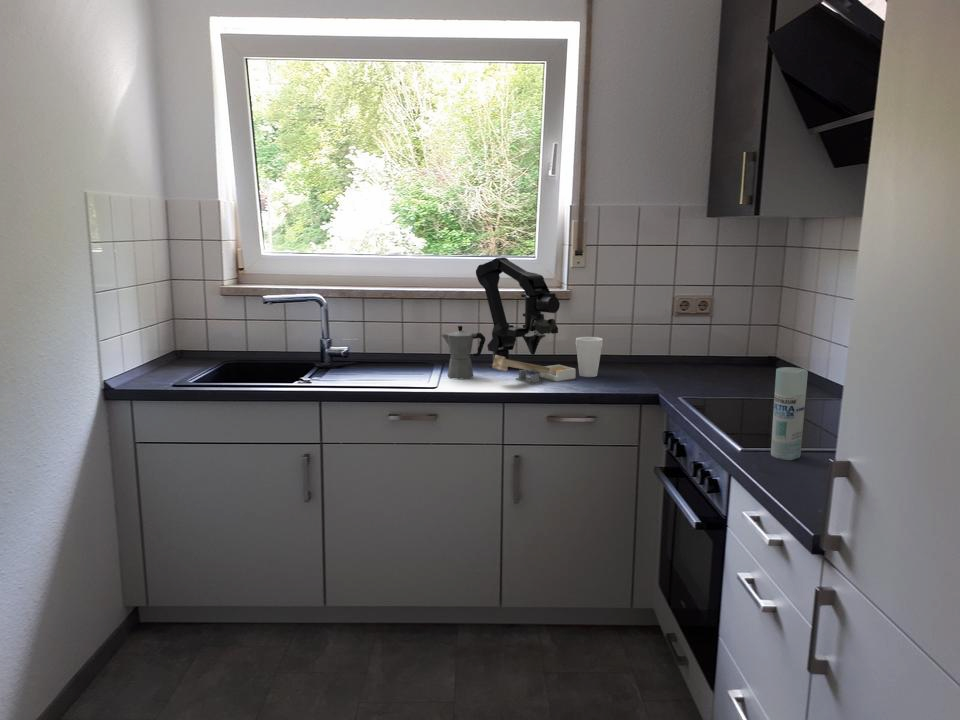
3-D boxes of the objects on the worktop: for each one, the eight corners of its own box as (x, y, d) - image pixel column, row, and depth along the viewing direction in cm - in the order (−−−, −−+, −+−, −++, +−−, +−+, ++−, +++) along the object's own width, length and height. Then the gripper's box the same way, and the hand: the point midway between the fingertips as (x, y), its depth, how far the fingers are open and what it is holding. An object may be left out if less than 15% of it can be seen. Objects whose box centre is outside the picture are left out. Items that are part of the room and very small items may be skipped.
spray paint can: (764, 454, 166) (770, 369, 162) (780, 449, 170) (787, 366, 166) (790, 462, 161) (797, 373, 157) (806, 457, 164) (813, 370, 161)
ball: (561, 369, 256) (557, 376, 255) (556, 364, 254) (551, 372, 253) (567, 370, 253) (563, 378, 252) (561, 366, 251) (557, 373, 251)
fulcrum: (515, 379, 249) (515, 370, 248) (525, 378, 251) (525, 369, 251) (531, 384, 241) (531, 374, 241) (542, 382, 244) (542, 373, 243)
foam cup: (593, 378, 250) (594, 341, 248) (570, 375, 256) (570, 339, 253) (606, 374, 258) (607, 338, 255) (583, 371, 263) (584, 336, 261)
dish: (539, 376, 253) (539, 367, 253) (558, 374, 258) (558, 364, 257) (555, 381, 246) (556, 371, 245) (575, 378, 250) (575, 368, 250)
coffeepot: (439, 378, 250) (438, 327, 247) (444, 373, 260) (444, 323, 256) (483, 380, 248) (483, 328, 245) (487, 374, 257) (487, 324, 254)
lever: (475, 362, 249) (477, 350, 249) (529, 372, 262) (532, 360, 262) (503, 370, 235) (506, 357, 234) (559, 380, 248) (562, 368, 248)
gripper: (525, 314, 244) (524, 360, 246) (568, 311, 253) (567, 355, 256) (506, 311, 253) (506, 355, 256) (548, 308, 263) (548, 350, 265)
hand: (532, 354), depth 258 cm, fingers closed
